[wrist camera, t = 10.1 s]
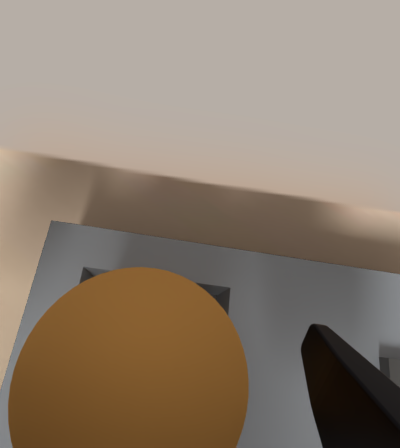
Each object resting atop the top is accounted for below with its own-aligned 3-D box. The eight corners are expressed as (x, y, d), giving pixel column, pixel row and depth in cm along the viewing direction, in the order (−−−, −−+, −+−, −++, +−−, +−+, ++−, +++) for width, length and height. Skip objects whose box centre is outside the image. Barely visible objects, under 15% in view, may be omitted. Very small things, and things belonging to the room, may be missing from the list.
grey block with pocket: (16, 457, 14) (-44, 512, 10) (73, 244, 17) (47, 215, 13) (424, 491, 16) (525, 550, 12) (403, 293, 19) (475, 282, 15)
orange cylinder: (109, 417, 14) (21, 580, 5) (93, 319, 15) (-2, 296, 6) (202, 386, 15) (279, 473, 6) (179, 296, 16) (213, 246, 7)
